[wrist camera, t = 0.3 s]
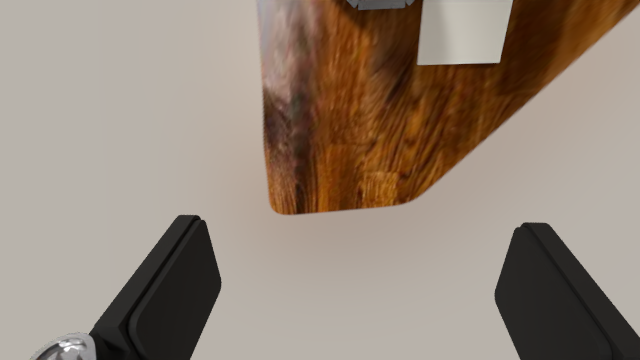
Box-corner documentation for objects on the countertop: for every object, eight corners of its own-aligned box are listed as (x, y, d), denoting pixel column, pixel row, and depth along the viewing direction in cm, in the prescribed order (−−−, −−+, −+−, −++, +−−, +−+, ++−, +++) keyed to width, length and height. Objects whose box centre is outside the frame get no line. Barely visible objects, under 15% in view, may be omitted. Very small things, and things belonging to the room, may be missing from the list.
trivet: (425, -27, 31) (426, -27, 30) (516, -32, 30) (519, -32, 29) (416, 63, 35) (417, 64, 34) (497, 61, 34) (499, 62, 33)
